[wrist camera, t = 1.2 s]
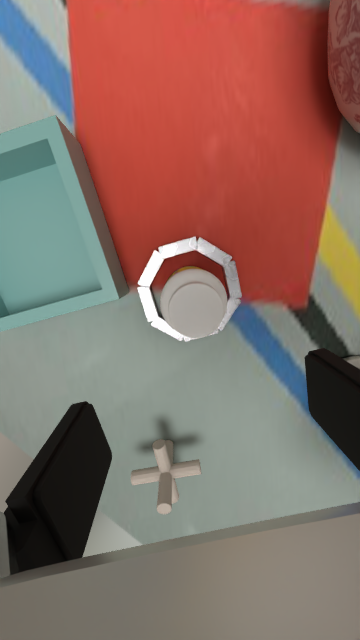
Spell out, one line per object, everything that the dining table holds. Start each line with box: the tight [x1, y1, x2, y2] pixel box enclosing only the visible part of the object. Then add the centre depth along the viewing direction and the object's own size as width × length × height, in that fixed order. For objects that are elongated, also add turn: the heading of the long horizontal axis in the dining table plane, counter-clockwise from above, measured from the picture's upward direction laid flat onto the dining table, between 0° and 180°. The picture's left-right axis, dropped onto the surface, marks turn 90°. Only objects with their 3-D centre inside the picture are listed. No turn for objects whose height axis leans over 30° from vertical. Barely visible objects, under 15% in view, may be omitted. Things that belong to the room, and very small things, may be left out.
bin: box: [0, 115, 129, 332], centre depth 26 cm, size 18×18×6 cm
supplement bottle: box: [160, 266, 228, 338], centre depth 24 cm, size 7×7×13 cm
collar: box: [137, 237, 242, 342], centre depth 30 cm, size 13×13×2 cm
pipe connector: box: [131, 439, 201, 514], centre depth 32 cm, size 10×10×10 cm
